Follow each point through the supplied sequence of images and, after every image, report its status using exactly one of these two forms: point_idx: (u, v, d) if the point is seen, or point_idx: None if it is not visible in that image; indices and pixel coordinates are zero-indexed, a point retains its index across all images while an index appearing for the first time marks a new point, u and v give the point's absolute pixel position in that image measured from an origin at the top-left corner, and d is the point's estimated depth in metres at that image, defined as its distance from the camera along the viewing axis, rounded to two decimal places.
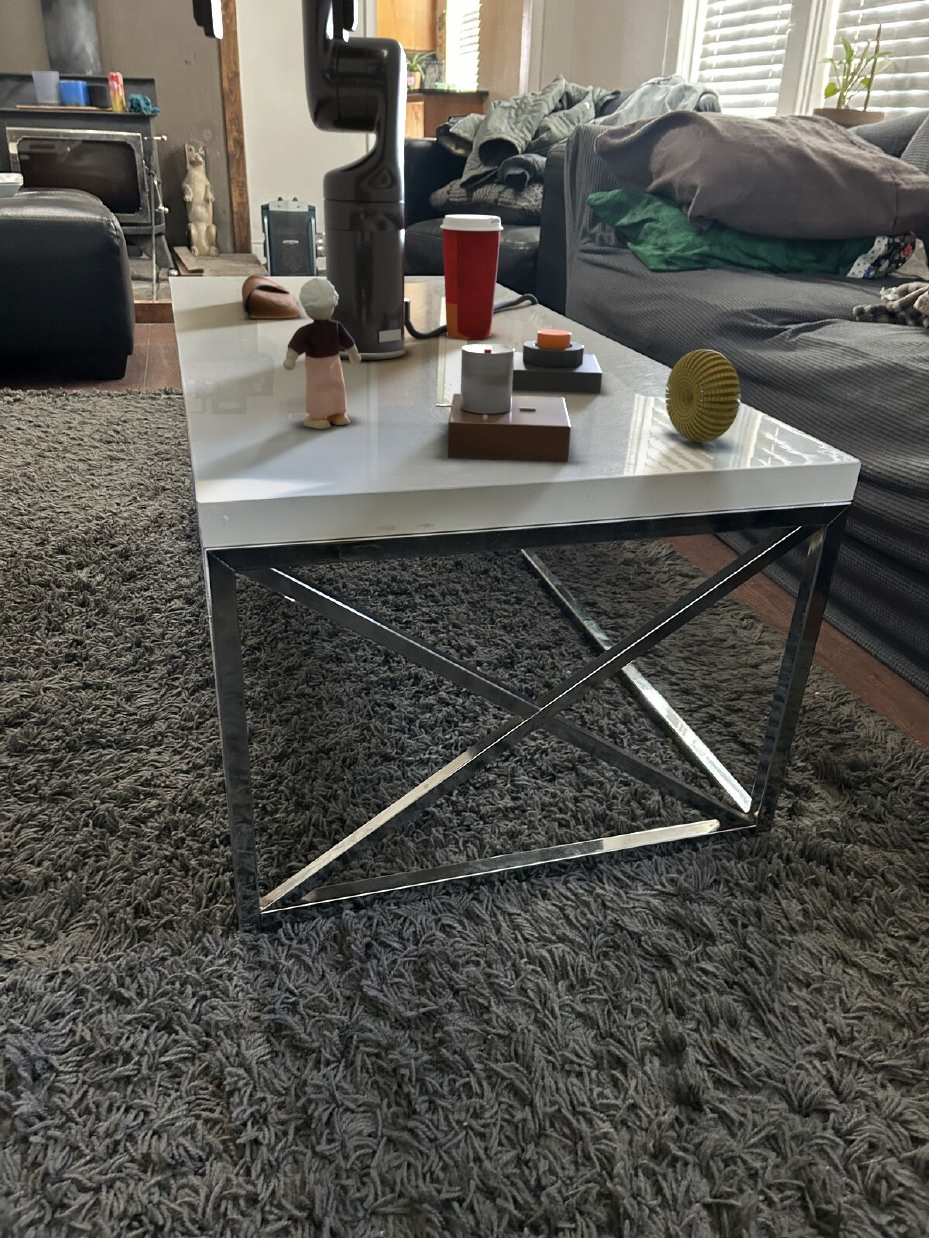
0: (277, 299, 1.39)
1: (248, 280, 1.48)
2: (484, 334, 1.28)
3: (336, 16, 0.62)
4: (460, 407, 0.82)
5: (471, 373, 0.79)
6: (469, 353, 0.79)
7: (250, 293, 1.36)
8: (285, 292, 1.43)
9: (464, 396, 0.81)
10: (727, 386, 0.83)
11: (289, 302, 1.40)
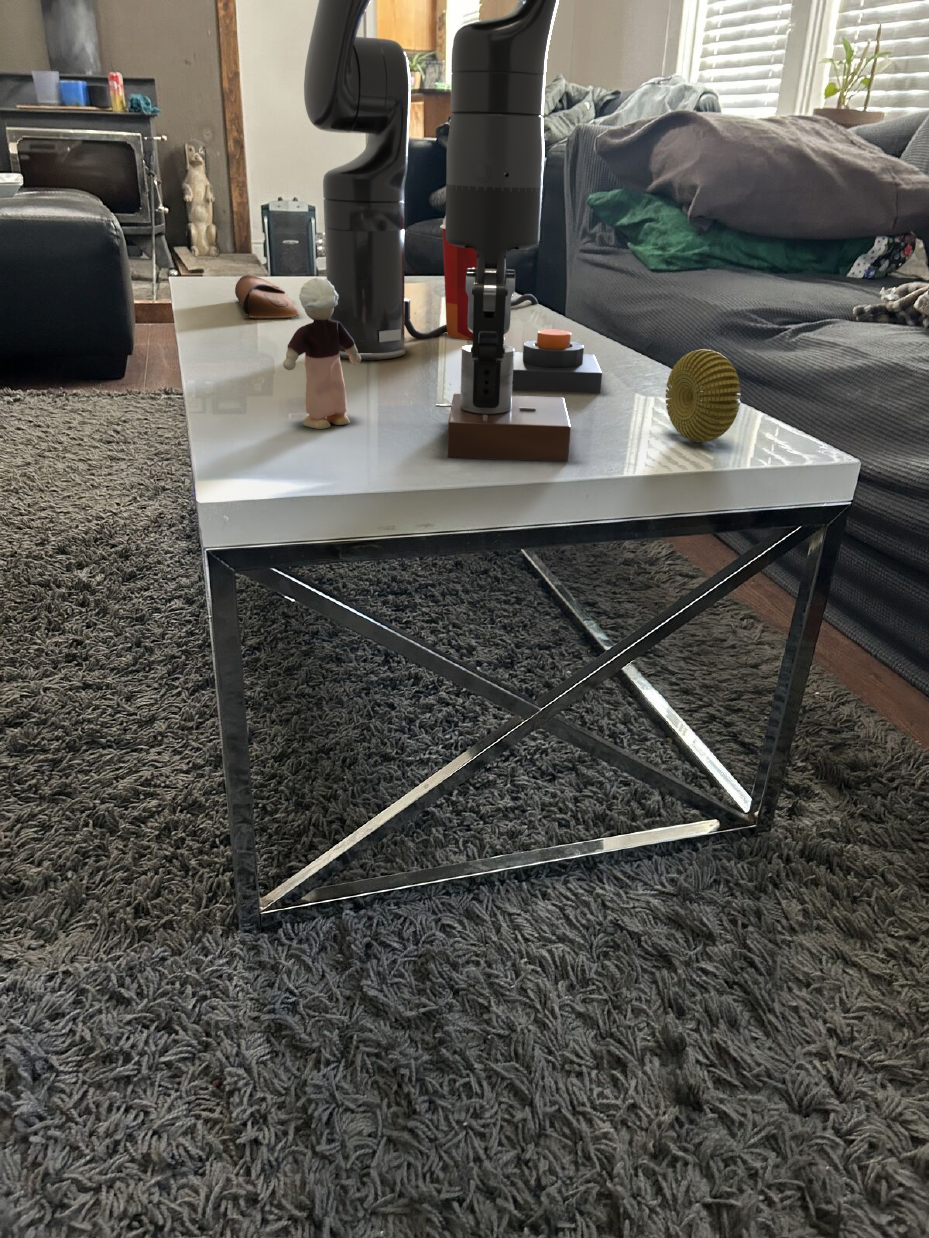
0: (275, 299, 1.39)
1: (242, 280, 1.48)
2: None
3: (473, 391, 0.79)
4: (460, 407, 0.82)
5: (471, 373, 0.79)
6: (469, 353, 0.79)
7: (248, 293, 1.36)
8: (281, 292, 1.43)
9: (464, 396, 0.81)
10: (727, 386, 0.83)
11: (287, 302, 1.40)
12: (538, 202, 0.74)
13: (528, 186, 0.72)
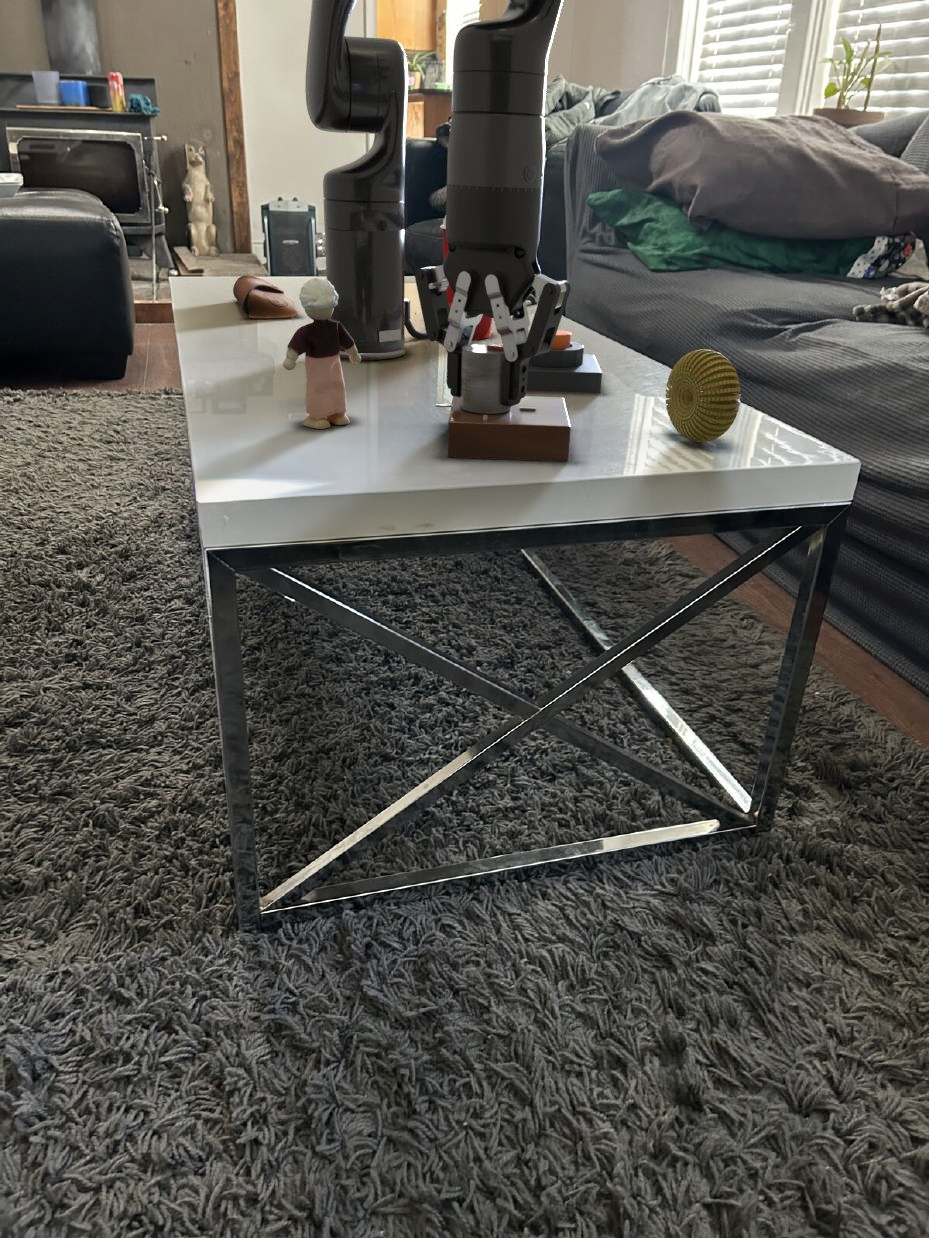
0: (274, 299, 1.39)
1: (240, 280, 1.48)
2: (484, 334, 1.28)
3: (504, 391, 0.79)
4: (460, 407, 0.82)
5: (498, 374, 0.79)
6: (496, 355, 0.78)
7: (248, 293, 1.36)
8: (280, 292, 1.43)
9: (487, 400, 0.80)
10: (727, 386, 0.83)
11: (286, 302, 1.40)
12: None
13: None
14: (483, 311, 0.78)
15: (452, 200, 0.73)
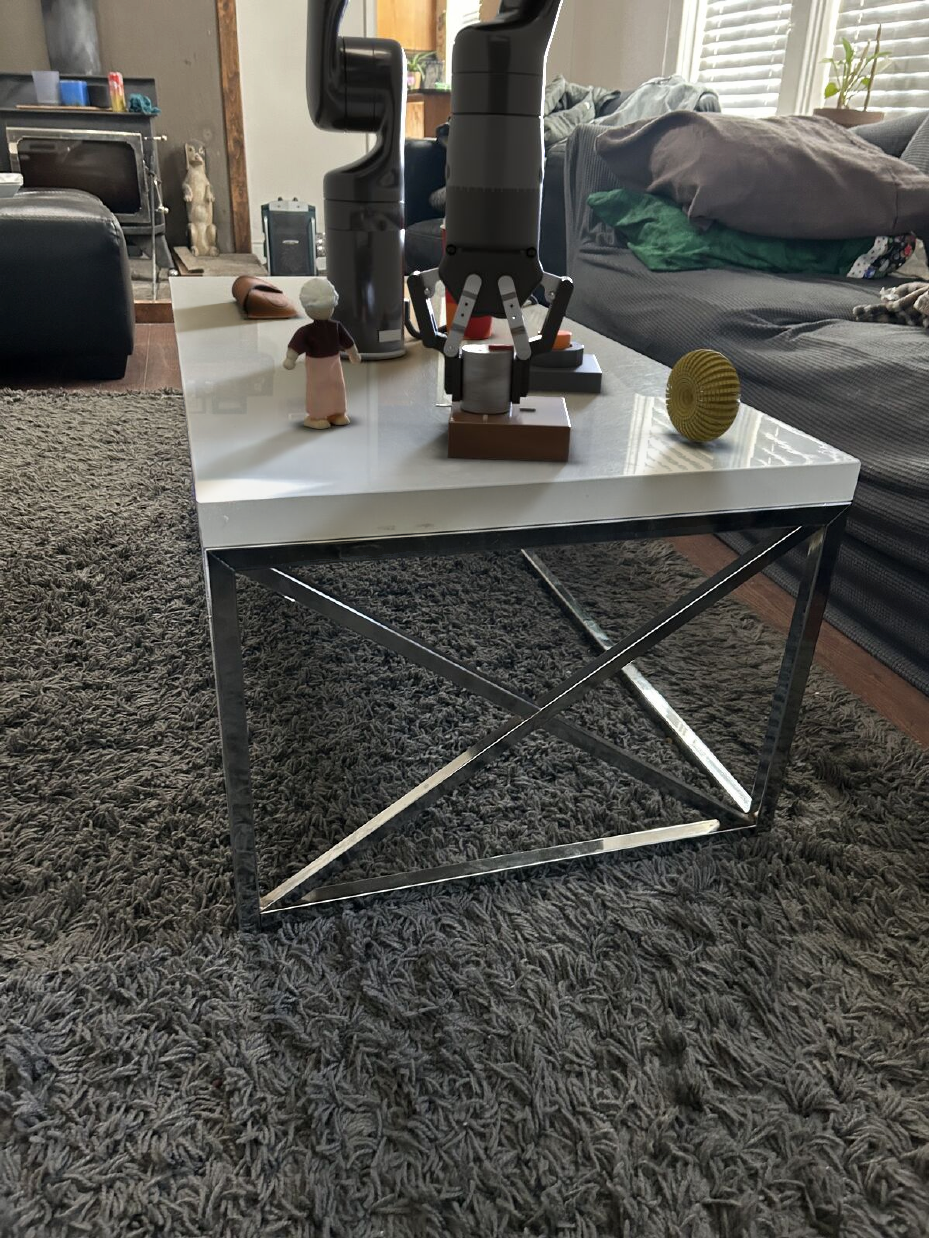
0: (274, 299, 1.39)
1: (239, 280, 1.48)
2: (484, 334, 1.28)
3: (515, 390, 0.80)
4: (460, 407, 0.82)
5: (509, 372, 0.80)
6: (508, 353, 0.79)
7: (248, 293, 1.36)
8: (279, 292, 1.43)
9: (500, 399, 0.80)
10: (727, 386, 0.83)
11: (285, 302, 1.40)
12: None
13: None
14: (490, 313, 0.78)
15: (469, 203, 0.72)
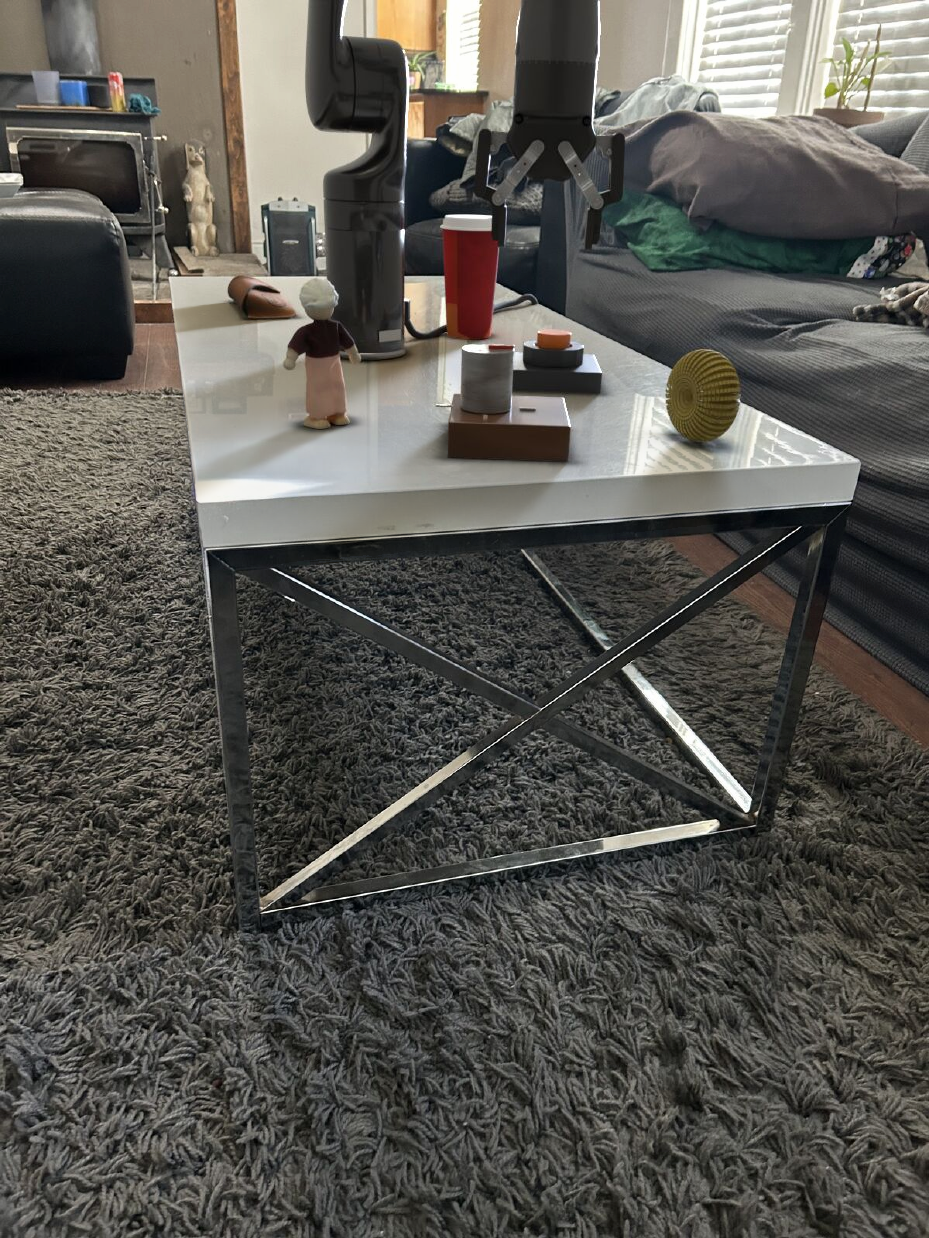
0: (272, 299, 1.39)
1: (235, 280, 1.47)
2: (484, 334, 1.28)
3: (588, 237, 0.93)
4: (460, 407, 0.82)
5: (509, 372, 0.80)
6: (508, 353, 0.79)
7: (247, 293, 1.36)
8: (277, 292, 1.43)
9: (500, 399, 0.80)
10: (727, 386, 0.83)
11: (284, 302, 1.40)
12: None
13: None
14: (550, 176, 0.91)
15: (536, 74, 0.85)
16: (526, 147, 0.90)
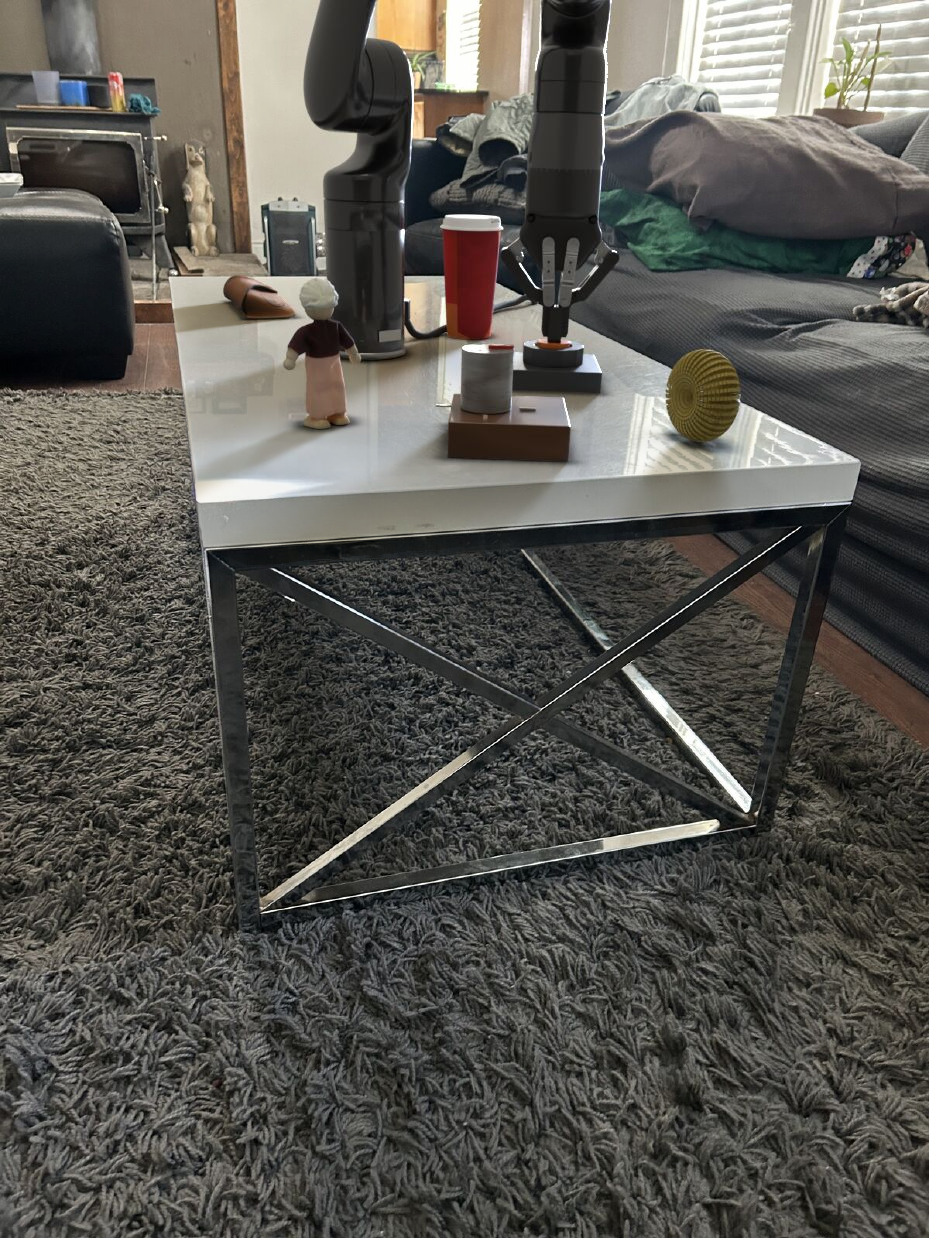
0: (271, 299, 1.39)
1: (231, 280, 1.47)
2: (484, 334, 1.28)
3: (557, 331, 1.02)
4: (460, 407, 0.82)
5: (509, 372, 0.80)
6: (508, 353, 0.79)
7: (246, 293, 1.36)
8: (274, 292, 1.43)
9: (500, 399, 0.80)
10: (727, 386, 0.83)
11: (282, 301, 1.40)
12: None
13: None
14: (559, 268, 0.99)
15: (547, 181, 0.94)
16: (538, 242, 0.98)
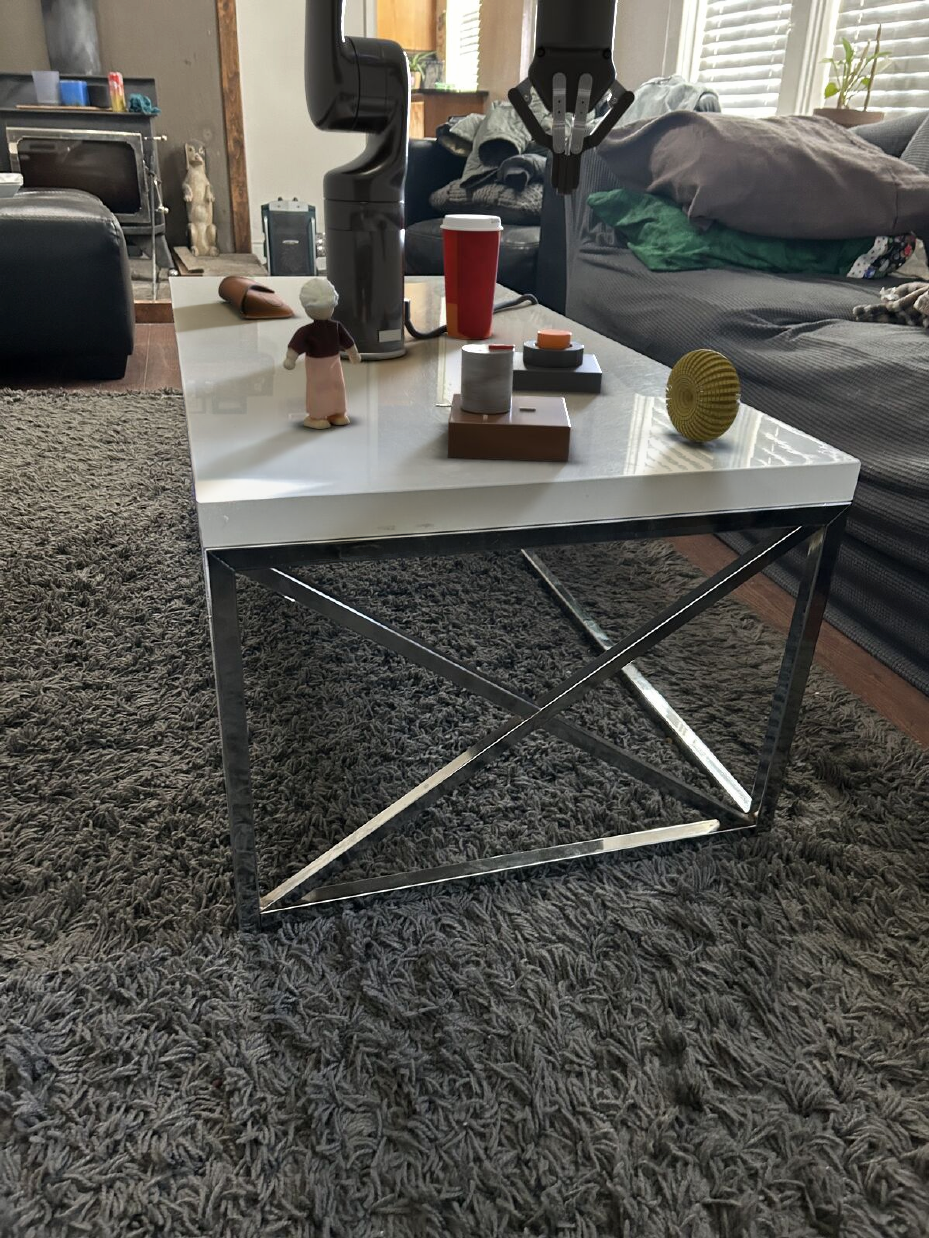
0: (270, 299, 1.39)
1: (227, 280, 1.47)
2: (484, 334, 1.28)
3: (568, 181, 0.96)
4: (460, 407, 0.82)
5: (509, 372, 0.80)
6: (508, 353, 0.79)
7: (245, 293, 1.35)
8: (272, 291, 1.43)
9: (500, 399, 0.80)
10: (727, 386, 0.83)
11: (281, 301, 1.40)
12: None
13: None
14: (571, 109, 0.93)
15: (559, 6, 0.87)
16: (548, 80, 0.92)
